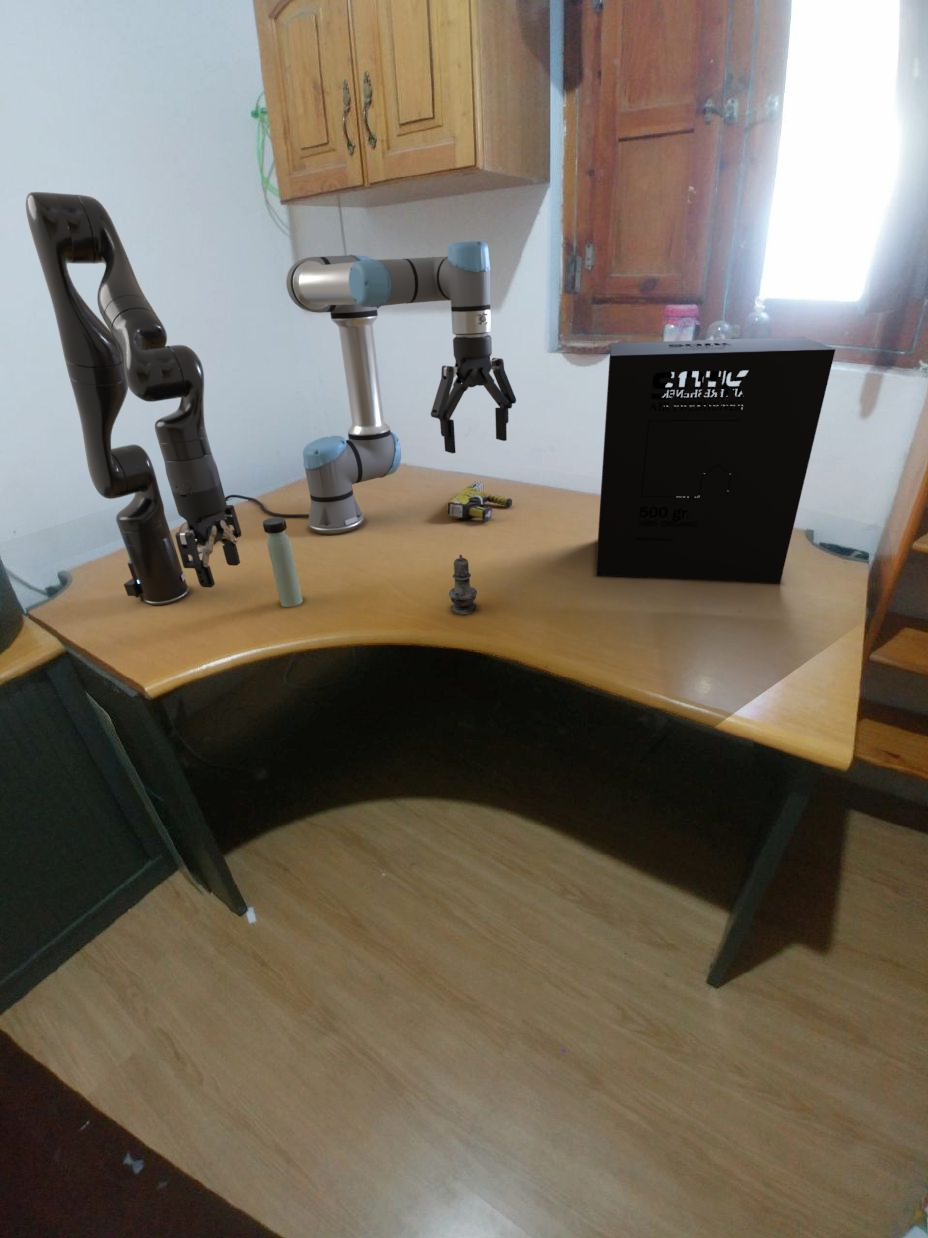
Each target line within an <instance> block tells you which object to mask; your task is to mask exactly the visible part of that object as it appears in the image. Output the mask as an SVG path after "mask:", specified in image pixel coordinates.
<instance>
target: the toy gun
mask: <svg viewBox="0 0 928 1238" xmlns="http://www.w3.org/2000/svg"><path fill="white" fill-rule="evenodd" d="M487 502H488V503H493V504H496V505H500V506H504V507H506V508H510V507H511V506H512V505H513V499H512V498H509V497H504V496H500V495H499V496H498V495H494V494H492V493H490V494H489V495H488V496H487V495H486V492H485V483H484V482H483V481H480V482H479V481H477V480H474V482H473V483H471V484H470V485H468V486H467V487H465V488H464V489H462V491H460V492H459V493H458V494H456V496H454V497H453V498H452V499H451V500H449V501H448V502H447V505H446V514H447V516H448V517H451V518H452V519H455V520H458V519H459V518H460V519H467V518H471V517H475V518H479V519H482V522H484V523H485V522H487V521H488V520H491V518H492V512H493V507H492V506H485V505H484V504H486V503H487Z"/></svg>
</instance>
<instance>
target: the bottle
mask: <svg viewBox="0 0 928 1238" xmlns="http://www.w3.org/2000/svg"><path fill="white" fill-rule="evenodd" d="M267 534H268V535H267V540H266V545H267V549H268V554H269V559H270V564H271V568H272V571H273V576H274V580H275V584H276V587H277V588H276V590H277V593H278V597H279V602H280V606H281V607H284V608H294V607H298V606H299V605H301V604H302V603H303V596H302V595H303V594H302V590H301V586H300V581H299V577H298V571H297V567H296V563H295V558H294V553H293V547H292V543H291V539H290V537H289V536H288V534H287V533H286V532H285V530H284V531H282V532H279V533H272V534H271V533H267Z"/></svg>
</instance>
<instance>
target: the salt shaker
mask: <svg viewBox="0 0 928 1238" xmlns="http://www.w3.org/2000/svg"><path fill="white" fill-rule="evenodd" d="M453 571H454V572H453V575H452V578H453V579H454V587H453V588H451V589H449V591H448V597H449V598H450V601H451V602H452V603H453V604H452V605H451V606H450V610H451V612H453V613H454V614H456V615H469V614H472V613H474V612H476V610H477V604H476V603H475V601H476V598H477V595H478V590H477V589H476V588H475V587H473V586H471V581H470V580H471V579H470V578H471V577H472V574H471V573H470V569H469V560H468V559H467V558H465V557H463V555H462V554H459V555H458V558H455V560H454V561H453Z"/></svg>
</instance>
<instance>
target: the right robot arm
mask: <svg viewBox="0 0 928 1238" xmlns="http://www.w3.org/2000/svg"><path fill="white" fill-rule="evenodd" d="M490 263H491V262H490V252H489V245H488V244H487V242H485V241H484V240H466V241H455V242H451V243H450V244H449V245H448V247H447V256H431V257H430V256H427V257H413V258H411V257H410V258H391V259H390V258H386V259H374V258H370V257H369V256H367V255H358V254H349V255H328V256H326V255H325V256H310V257H305V258H302V259H300V260H298V261H296V262H295V263H293V265H291V267H290V268H289V269H288V272H287V275H286V281H285V282H286V283H285V284H286V285H285V286H286V290H287V293H288V296H289V297H290V299H291V300H292V303H294V304H295V305H296V306H298V307H299V308H300V309H302V310H304V311H306V312H310V313H318V314H319V313H320V314H321V313H330V320H331V321H332V322H333V323H334V324H335V325H336V326H337V327H338V332H339V333H338V334H339V339H340V347H341V355H342V361H343V369H344V375H345V382H346V383H345V384H346V389H347V396H348V404H349V410H350V418H351V425H350V426H349V428H348V430H347V436H348V439H345V437H343V436H341V435H332V436H324V437H321V438H318V439H315V440H312V441H311V442H309V443H308V444H306V445H305V446H304V448H303V450H302V457H303V459H302V460H303V467H304V471H305V476H306V481H307V486H308V492H309V498H310V507H309V513H296V514H295V513H291V514H290V513H280V512H279V513H278V512H273V511H270V510H267V509H266V508H264V504H262V503H261V502H260V501H259V500H258V499H256V498H253V497H249V496H244V495H240V494H229V495H227V496H225V499H226V502H227V501H228V500H229V499H233V498H237V499H242V500H246V501H251V502H254V503H256V504H257V505H258V506H259V507H260V509H261V511H262V512H263V513H265V514H267V515H269V516H274V517H283V518H308V521H307V524H308V528H309V529H308V530H310V531H311V532H312V533H314V534H317V535H323V536H324V535H325V536H327V535H329V536H331V535H339V534H340V535H341V534H345V533H350V532H353V531H355V530H357V529H359V528H361V527H362V526H363V525H364V523H365V519H364V514H363V512H362V510H361V508H360V505H359V504H358V501H357V500H356V498H355V495H354V489H353V485H354V484H355V485H356V484H359V483H363V482H368V481H371V480H375V479H381V478H385V477H387V476H390V475H392V474H394V473H396V472H397V470H398V469H399V467H400V465H401V462H402V446H401V443H400V441H399V437H398V436H397V435H396V434H395V432H394V431H391V426H390V425H388V423H386V422H385V420H384V419H385V418H384V410H383V402H382V393H381V385H380V377H379V368H378V367H379V366H378V358H377V349H376V341H375V331H374V324H375V322H376V320H377V319H378V317H379V314H378V309H379V308H381V307H385V306H394V305H403V304H405V305H406V304H417V303H419V304H420V303H427V302H428V303H429V302H444V301H448V302H449V301H450V311H451V313H450V314H451V315H450V316H451V334H453V335H454V337H453V339H452V350H453V358H454V359H455V363H454V366H452V365H442V366H441V373H440V374H441V375H440V376H441V377H440V381H439V384H438V388H437V390H436V395H435V398H434V401H433V404H432V407H431V411H430V416H431V418H435V419H438V421H439V426H440V435H441V437H443V441H444V442H443V443H444V452H446V453H450V454H456V433H455V420H454V419H451V418H452V416H453V414H454V413H455V410H456V409H457V406H458V404H459V402H460V401H461V399H462V397H463V396H464V393H465V392H466V391H468V389H469V388H474V387H477V386H478V387H482V386H483V387H484V389H485V390H486V391H487V392H488V394H489V396H491V398H492V399H493V401H494V402H495V403H496V405H497V406H498V407H495V408H494V410H495V411H494V413H495V414H494V415H495V439H496V440H499V441H502V442H507V441H508V438H507V435H508V433H507V424H509V410H510V409H512V407H513V404H516V403H517V398H516V394H515V393H514V390H513V388H512V385H511V383H510V380H509V378H508V375H507V373H506V370H505V363H504V362H505V361H504V359H503V358H499V357H493V358H491V356H492V354H493V346H492V344H493V343H492V340H493V339H492V336H491V335H489V333H491V332H492V315H491V314H492V312H491V311H492V309H491V264H490ZM491 370H492V374H493V376H494V378H493V376H492V375H491ZM455 377H456V378H455ZM454 378H455V380H454ZM495 381H496V383H497V384H496V383H495Z"/></svg>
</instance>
